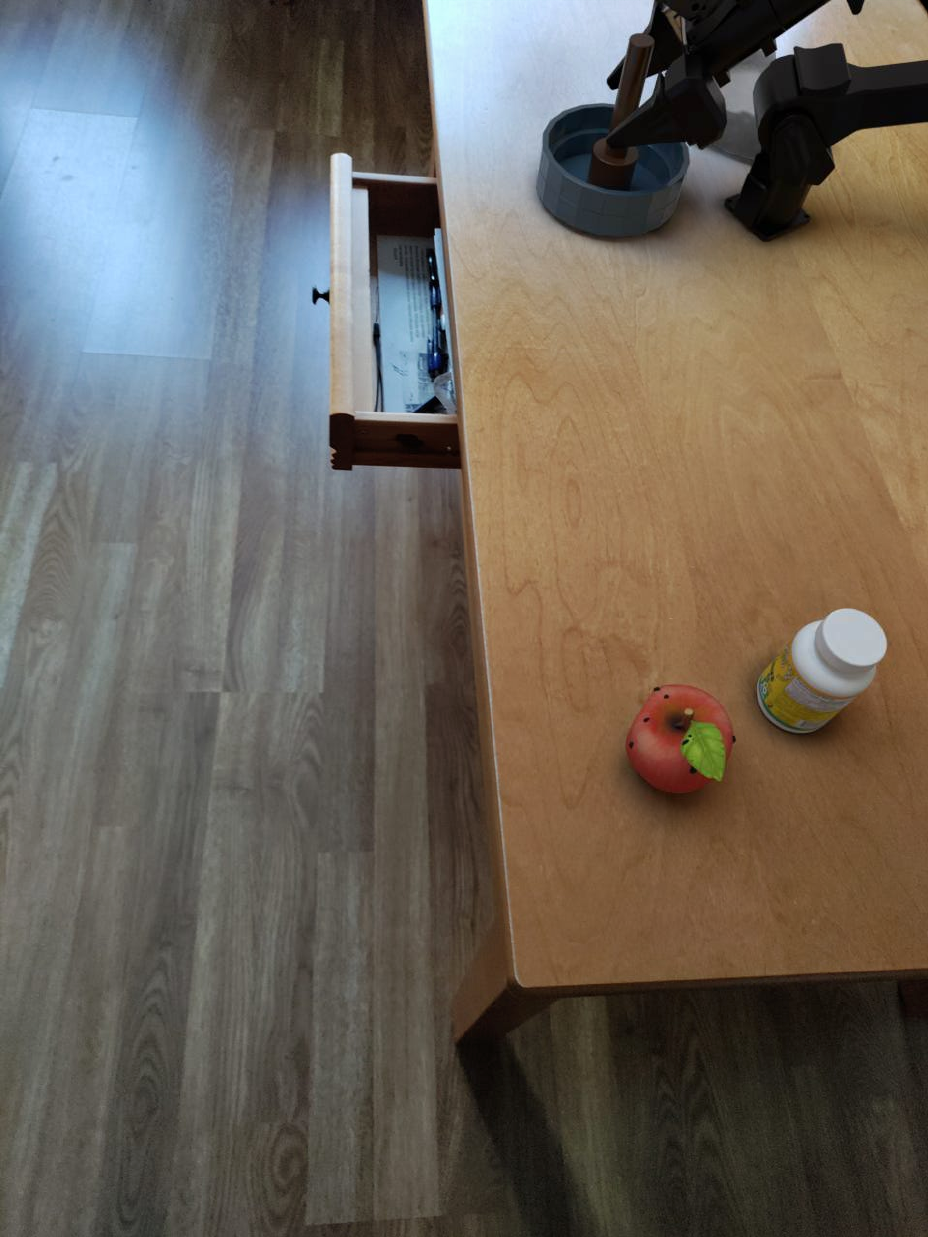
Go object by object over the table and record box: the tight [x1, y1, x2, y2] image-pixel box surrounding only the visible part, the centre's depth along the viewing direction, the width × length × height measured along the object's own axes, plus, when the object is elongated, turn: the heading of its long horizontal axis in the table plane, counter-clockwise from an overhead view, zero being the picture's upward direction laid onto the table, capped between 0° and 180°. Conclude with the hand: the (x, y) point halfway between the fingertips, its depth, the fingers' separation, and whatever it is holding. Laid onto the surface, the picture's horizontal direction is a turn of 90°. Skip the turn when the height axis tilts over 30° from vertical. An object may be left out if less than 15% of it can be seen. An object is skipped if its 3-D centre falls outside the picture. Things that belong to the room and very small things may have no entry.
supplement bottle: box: [756, 608, 888, 734], centre depth 56 cm, size 5×5×10 cm
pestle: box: [586, 32, 655, 192], centre depth 80 cm, size 4×4×14 cm
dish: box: [711, 49, 777, 161], centre depth 91 cm, size 14×14×5 cm
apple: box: [625, 683, 737, 794], centre depth 53 cm, size 8×7×10 cm
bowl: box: [535, 102, 691, 238], centre depth 84 cm, size 14×14×5 cm
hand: (608, 113), depth 79 cm, fingers open, 9 cm apart
